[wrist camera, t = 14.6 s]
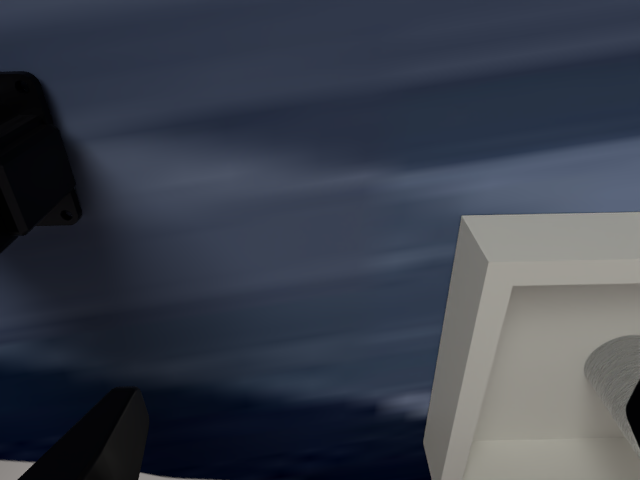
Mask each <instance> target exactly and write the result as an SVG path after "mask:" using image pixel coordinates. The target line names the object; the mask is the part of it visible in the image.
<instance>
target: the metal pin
mask: <svg viewBox="0 0 640 480" xmlns="http://www.w3.org/2000/svg"><path fill="white" fill-rule="evenodd" d="M584 374H585V376H586V378H587V380H588V381H589V383H590V384H591V386H592V387H593V389H594V390H595V392H596V393H597V395H598V396H599V398H600V399H601V401H602V402H603V404H604V406H605V407H606V409H607V410H608V412H609V413H610V415H611V416H612V418H613V419H614V421H615V422H616V424H617V425H618V427H619V428H620V430H621V431H622V433H623V435H624V436H625V438H626V439H627V441H628V442H629V444H630V445H631V447H632V448H633V450H634V451H635V453H636V454H637V456H638V457H639V459H640V448H639V446H638V444H637V441H636V439H635V437H634V434H633V432H632V429H631V427H630V425H629V422H628V420H627V416H626V404H627V402H628V400H629V398H630V396H631V394H632V392H633V390H634V388H635V386H636V384H637V383H638V381H639V379H640V335H628V336H622V337H618V338H615V339H612V340H610V341H608V342H606V343H604V344H602V345H601V346H599V347H598V348H597V349H595V350H594V351H593V352H592V353H591V354H590V356H589V357H588V358H587V360H586V362H585V365H584Z"/></svg>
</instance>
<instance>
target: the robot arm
mask: <svg viewBox="0 0 640 480" xmlns="http://www.w3.org/2000/svg"><path fill="white" fill-rule="evenodd" d="M21 81H24V82H25V83H26V84H27V85H28V87H29V91H26V90H24V89H23V88H22V86H21ZM75 185H76V182H75V179H74V176H73V173H72V170H71V167H70V164H69V161H68V158H67V154H66V151H65V148H64V145H63V142H62V139H61V136H60V133H59V130H58V129H57V128H56V127H55V126H54V124H53V121H52V118H51V115H50V112H49V109H48V106H47V103H46V100H45V97H44V93H43V90H42V87H41V84H40V82H39V81H38V79H37V78H36V77H35V76H34V75H32V74H31V73H29V72H24V71H13V72H0V253H2V252H3V251H4V250H5V249H6V248H7V247H8V246H9V245H10V244H11V243H12V242H13V241H14V240H15V239H16V238H17V237H18V236H24V235H26V234H27V233H28V232H30V231H31V230H32V229H33V228H34V227H35V226H52V225H73V224H75V223H76V222H77V221H78V220H79V219H80V218H81V216H82V210H81V207H80V204H79V201H78V198H77V195H76V192H75V189H74V187H75ZM65 210H67V211H69V212H70V213H71V214H72V216H69V215H68V214H66V212H65ZM626 416H627V420H628V422H629V425H630V427H631V429H632V432H633V434H634V437H635V439H636V441H637V444H638V446H639V448H640V379H639V381H638V383H637V384H636V386H635V388H634V390H633V392H632V394H631V396H630V398H629V400H628V402H627V404H626ZM148 429H149V415H148V412H147V409H146V406H145V402H144V399H143V396H142V393H141V391H140V389H139V388H138V387H135V386H129V387H116V388H114V389H112V390H111V391H110V392H109V393H107V394H106V395H105V396H104V397H103V398H102V399H101V400H100V401H99V402H98V403H97V404H96V405H95V406H94V407H93V408H92V409H91V410H90V411H89V412H88V413H87V414H86V415H85V416H83V417H82V418H81V419H80V420H79V421H78V422H77V423H76V424H75V425H74V426H73V427H72V428H71V429H70V430H69V431H68V432H67V433H66V434H65V435H64V436H63V437H62V438H61V439H59V440H58V441H57V442H56V443H55V444H54V445H53V446H52V447H51V448H50V449H49V450H48V451H47V452H46V453H45V454H44V455H43V456H42V457H41V458H40V459H39V460H38V461H37V462H36V463H34V464H33V465H32V466H31V467H30V468H29V469H28V470H27V471H26V472H25V473H24V474H23V475H22V476H21V477H20V478H19V479H18V480H138V478H139V473H140V468H141V464H142V459H143V454H144V449H145V444H146V439H147V434H148Z"/></svg>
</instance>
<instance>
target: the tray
mask: <svg viewBox="0 0 640 480" xmlns="http://www.w3.org/2000/svg"><path fill="white" fill-rule="evenodd" d="M628 335H640V212H621V213H571V214H521V215H470V216H462V217H461V222H460V228H459V234H458V240H457V246H456V252H455V258H454V264H453V270H452V275H451V281H450V287H449V293H448V299H447V305H446V311H445V317H444V323H443V328H442V334H441V340H440V346H439V352H438V358H437V364H436V370H435V376H434V381H433V387H432V393H431V399H430V405H429V411H428V417H427V423H426V429H425V435H424V440H423V444H424V448H425V452H426V457H427V461H428V465H429V470H430V474H431V478H432V480H640V459H639V457H638V456H637V454H636V453H635V451H634V450H633V448H632V447H631V445H630V444H629V442H628V441H627V439H626V438H625V436H624V435H623V433H622V431H621V430H620V428H619V427H618V425H617V424H616V422H615V421H614V419H613V418H612V416H611V415H610V413H609V412H608V410H607V409H606V407H605V406H604V404H603V402H602V401H601V399H600V398H599V396H598V395H597V393H596V392H595V390H594V389H593V387H592V386H591V384H590V383H589V381H588V380H587V378H586V376H585V374H584V365H585V362H586V360H587V358H588V357H589V356H590V354H591V353H592V352H593V351H594V350H595V349H597V348H598V347H599V346H601V345H602V344H604V343H606V342H608V341H610V340H612V339H615V338H618V337H622V336H628Z"/></svg>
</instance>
